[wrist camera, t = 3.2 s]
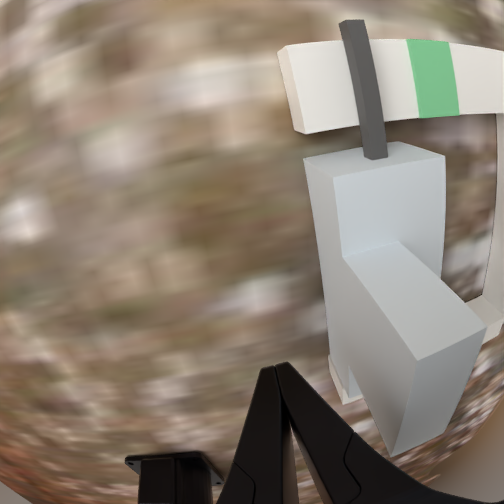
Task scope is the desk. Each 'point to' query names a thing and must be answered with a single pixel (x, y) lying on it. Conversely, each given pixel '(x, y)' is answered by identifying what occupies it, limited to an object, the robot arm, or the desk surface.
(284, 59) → the gauge housing
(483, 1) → the desk surface
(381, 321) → the gauge plunger
